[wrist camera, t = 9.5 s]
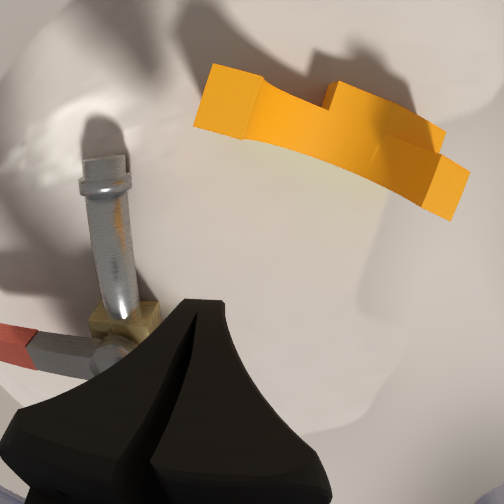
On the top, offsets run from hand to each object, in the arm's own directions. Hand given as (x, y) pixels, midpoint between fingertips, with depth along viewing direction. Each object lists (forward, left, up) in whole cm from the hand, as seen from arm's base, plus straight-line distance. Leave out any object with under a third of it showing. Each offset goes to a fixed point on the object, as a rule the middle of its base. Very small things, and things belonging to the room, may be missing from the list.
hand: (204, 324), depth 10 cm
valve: (-5, +7, -10) cm, 13 cm away
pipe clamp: (+7, -5, -10) cm, 13 cm away
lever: (-8, +12, -6) cm, 16 cm away
